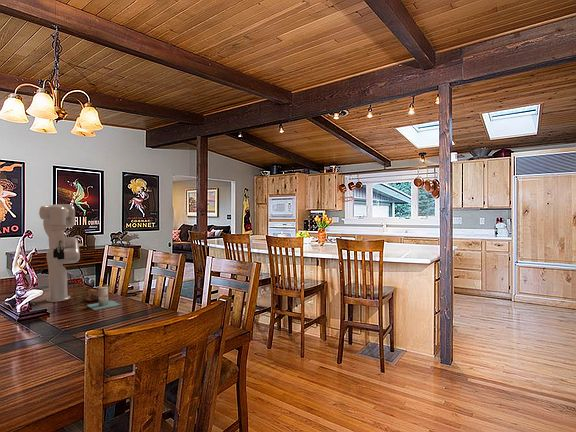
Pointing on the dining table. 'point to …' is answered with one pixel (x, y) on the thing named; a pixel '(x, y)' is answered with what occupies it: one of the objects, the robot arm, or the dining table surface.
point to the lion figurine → (93, 292)
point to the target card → (97, 307)
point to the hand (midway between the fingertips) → (58, 258)
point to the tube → (103, 296)
